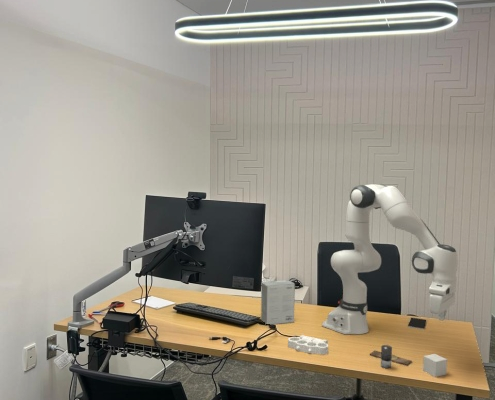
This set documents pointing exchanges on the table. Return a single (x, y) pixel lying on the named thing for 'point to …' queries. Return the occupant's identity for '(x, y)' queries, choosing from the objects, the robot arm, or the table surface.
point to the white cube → (435, 365)
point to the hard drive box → (277, 302)
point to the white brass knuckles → (308, 344)
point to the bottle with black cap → (386, 356)
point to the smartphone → (417, 323)
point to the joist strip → (394, 358)
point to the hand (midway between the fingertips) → (441, 319)
